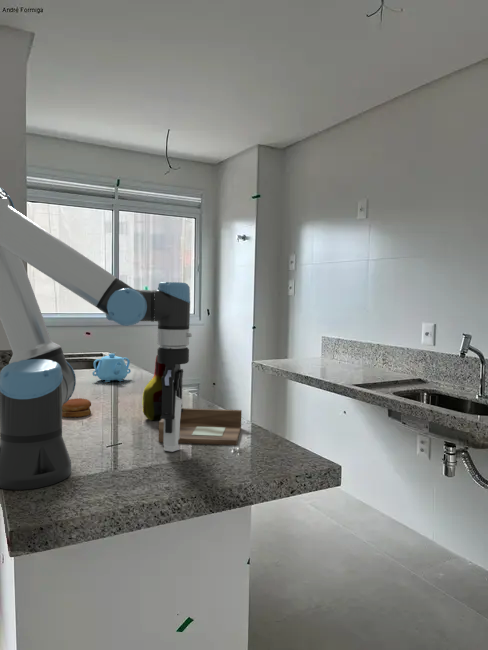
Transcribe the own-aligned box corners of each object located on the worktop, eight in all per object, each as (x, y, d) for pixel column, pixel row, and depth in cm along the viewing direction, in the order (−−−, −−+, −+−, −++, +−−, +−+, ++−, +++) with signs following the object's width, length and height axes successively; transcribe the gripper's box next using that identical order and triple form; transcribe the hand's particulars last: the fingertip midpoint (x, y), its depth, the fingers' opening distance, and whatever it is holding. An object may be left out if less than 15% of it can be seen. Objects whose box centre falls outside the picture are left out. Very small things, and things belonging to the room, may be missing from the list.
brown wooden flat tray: (236, 445, 125) (236, 424, 124) (158, 442, 126) (158, 422, 126) (241, 428, 140) (241, 410, 140) (172, 425, 142) (172, 407, 142)
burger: (91, 417, 151) (91, 402, 151) (59, 419, 148) (59, 403, 148) (91, 410, 160) (90, 395, 160) (60, 411, 157) (60, 397, 157)
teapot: (86, 379, 216) (86, 352, 216) (123, 376, 225) (123, 350, 225) (99, 386, 200) (99, 357, 199) (139, 383, 208) (139, 355, 208)
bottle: (176, 414, 156) (176, 351, 155) (183, 418, 150) (184, 353, 149) (139, 418, 150) (139, 352, 149) (145, 423, 144) (146, 355, 143)
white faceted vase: (162, 452, 117) (163, 390, 116) (160, 447, 121) (161, 386, 120) (182, 451, 118) (183, 389, 117) (179, 446, 122) (180, 386, 121)
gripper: (181, 351, 109) (179, 454, 110) (195, 343, 127) (193, 432, 128) (148, 350, 110) (146, 452, 111) (166, 342, 127) (164, 431, 128)
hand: (171, 441), depth 119 cm, fingers closed on white faceted vase, 5 cm apart
